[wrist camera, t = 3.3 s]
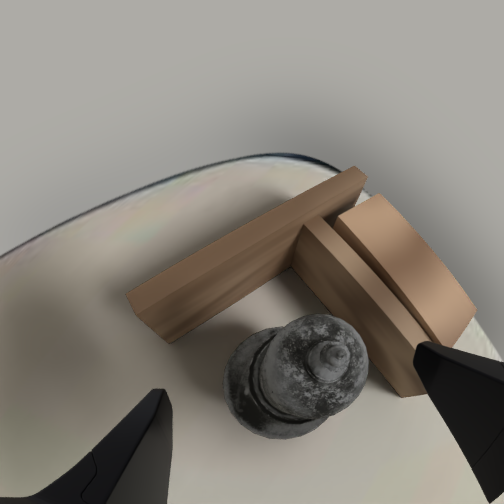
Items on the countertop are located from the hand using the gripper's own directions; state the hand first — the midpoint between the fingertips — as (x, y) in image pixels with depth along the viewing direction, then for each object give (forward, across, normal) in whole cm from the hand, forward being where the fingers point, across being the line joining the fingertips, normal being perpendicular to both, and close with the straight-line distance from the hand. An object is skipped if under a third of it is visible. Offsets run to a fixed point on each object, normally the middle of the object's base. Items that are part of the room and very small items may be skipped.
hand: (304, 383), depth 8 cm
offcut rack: (+7, -3, +4) cm, 9 cm away
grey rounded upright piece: (+6, 0, +6) cm, 8 cm away
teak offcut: (+7, -8, 0) cm, 11 cm away
